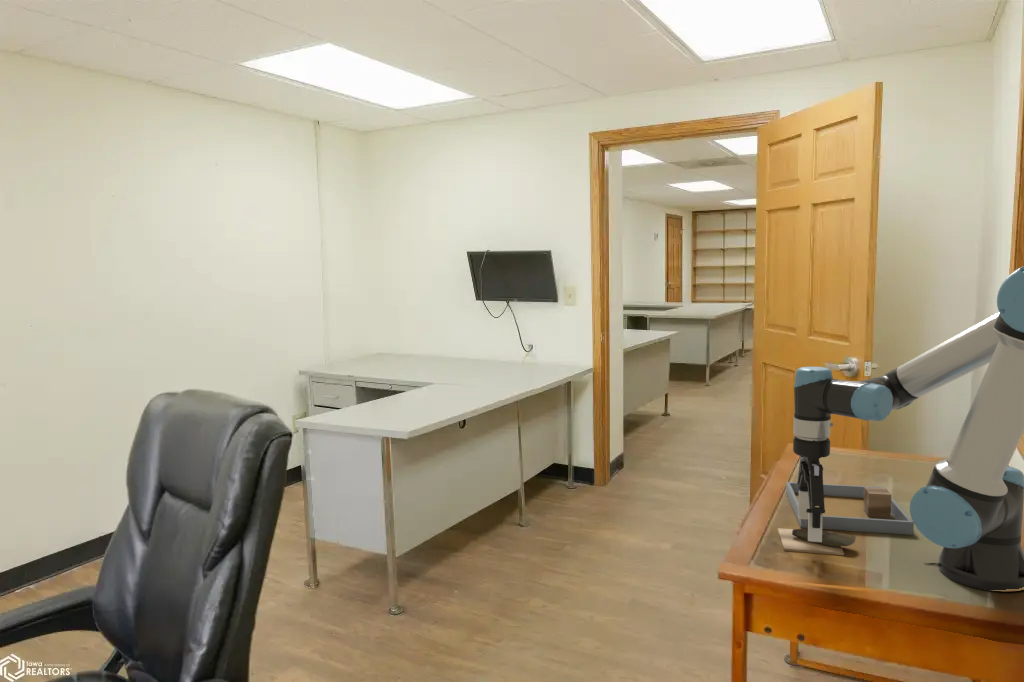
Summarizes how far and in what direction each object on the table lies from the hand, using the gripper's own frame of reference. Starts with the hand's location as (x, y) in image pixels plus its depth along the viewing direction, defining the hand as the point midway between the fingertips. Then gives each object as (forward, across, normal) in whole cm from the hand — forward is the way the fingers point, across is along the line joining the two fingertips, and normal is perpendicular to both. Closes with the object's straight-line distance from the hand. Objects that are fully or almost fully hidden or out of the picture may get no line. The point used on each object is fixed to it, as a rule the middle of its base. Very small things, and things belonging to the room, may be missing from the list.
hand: (809, 529), depth 153 cm
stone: (+2, +4, -1) cm, 4 cm away
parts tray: (+3, +22, -12) cm, 25 cm away
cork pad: (+3, 0, 0) cm, 3 cm away
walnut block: (+3, +22, -19) cm, 29 cm away
